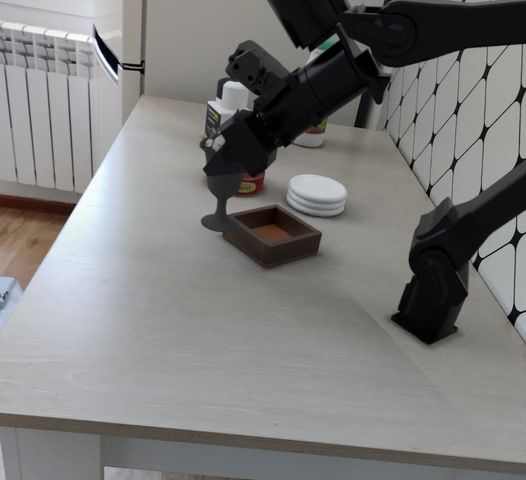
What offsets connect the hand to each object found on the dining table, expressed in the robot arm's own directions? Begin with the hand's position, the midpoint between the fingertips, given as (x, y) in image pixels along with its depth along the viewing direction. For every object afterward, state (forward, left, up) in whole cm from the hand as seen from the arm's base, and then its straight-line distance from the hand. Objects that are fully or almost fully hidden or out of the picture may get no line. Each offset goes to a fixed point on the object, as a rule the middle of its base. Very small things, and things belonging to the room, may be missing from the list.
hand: (215, 163), depth 72 cm
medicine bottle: (+36, -31, -14) cm, 50 cm away
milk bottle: (+33, -49, -14) cm, 61 cm away
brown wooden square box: (0, -11, -13) cm, 18 cm away
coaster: (+8, -28, -14) cm, 32 cm away
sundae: (-1, -1, -8) cm, 8 cm away
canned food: (+19, -20, -14) cm, 31 cm away
